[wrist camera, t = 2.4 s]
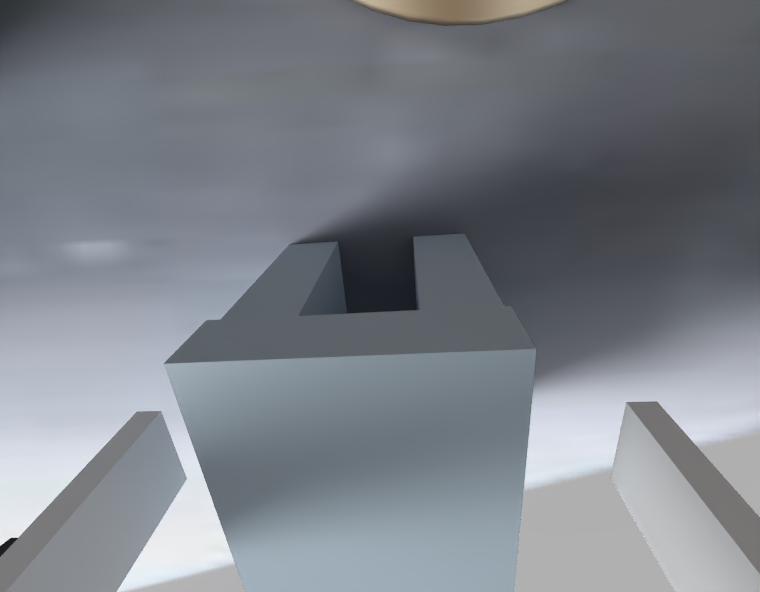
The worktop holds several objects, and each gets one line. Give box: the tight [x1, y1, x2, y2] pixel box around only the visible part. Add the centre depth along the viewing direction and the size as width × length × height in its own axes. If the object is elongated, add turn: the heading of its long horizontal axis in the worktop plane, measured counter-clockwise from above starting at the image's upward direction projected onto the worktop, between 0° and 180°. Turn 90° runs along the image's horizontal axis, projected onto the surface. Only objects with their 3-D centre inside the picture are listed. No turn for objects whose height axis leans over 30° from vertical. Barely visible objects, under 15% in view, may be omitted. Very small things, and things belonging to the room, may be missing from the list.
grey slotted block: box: [164, 233, 537, 592], centre depth 13 cm, size 7×9×9 cm
